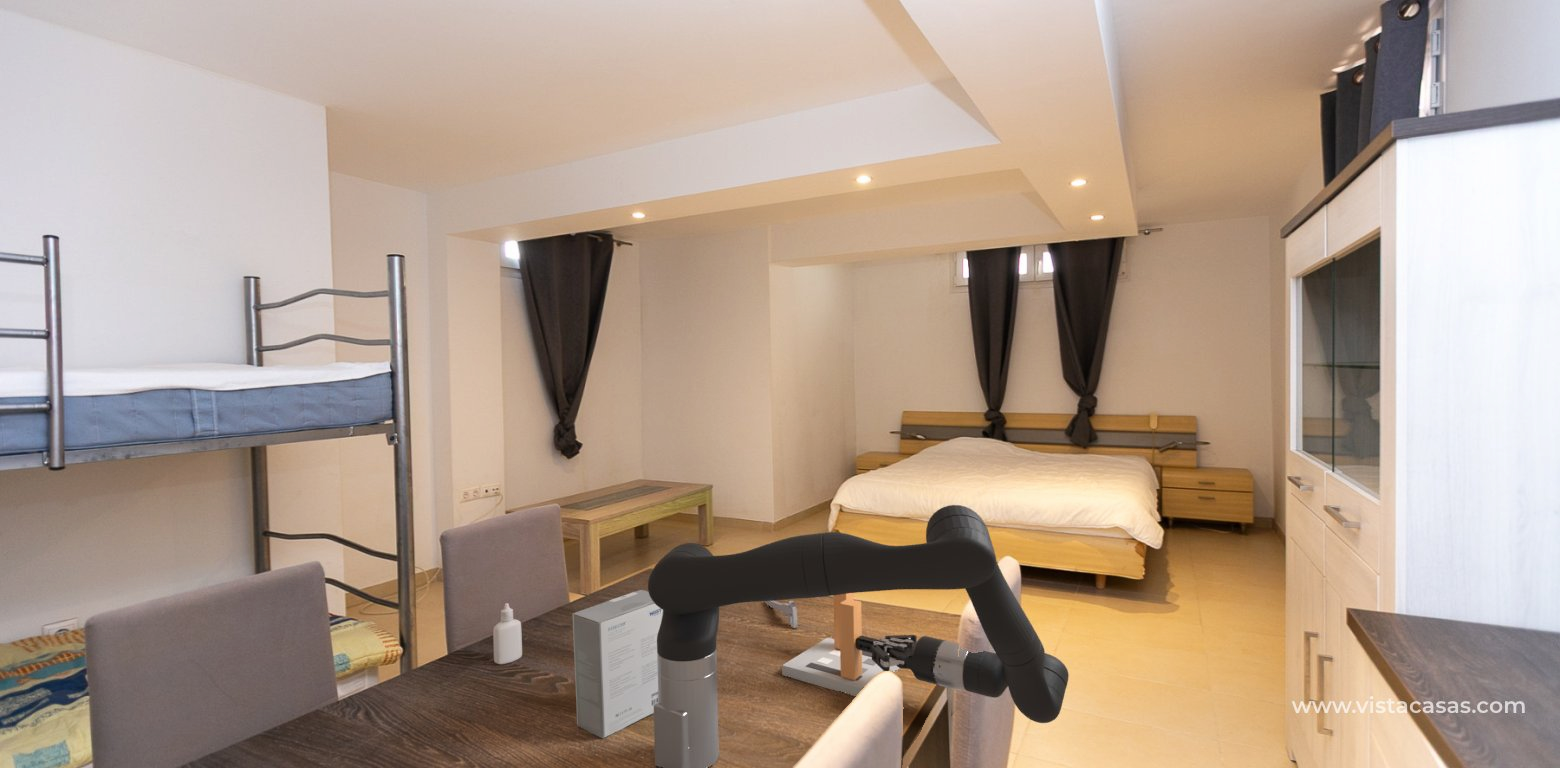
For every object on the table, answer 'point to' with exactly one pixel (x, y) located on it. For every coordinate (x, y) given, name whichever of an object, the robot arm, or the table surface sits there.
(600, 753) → the table surface
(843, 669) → the switch tab
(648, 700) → the hard drive box
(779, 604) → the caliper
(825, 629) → the table surface
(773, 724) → the table surface
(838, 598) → the switch tab
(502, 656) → the eye dropper bottle
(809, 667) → the switch panel
